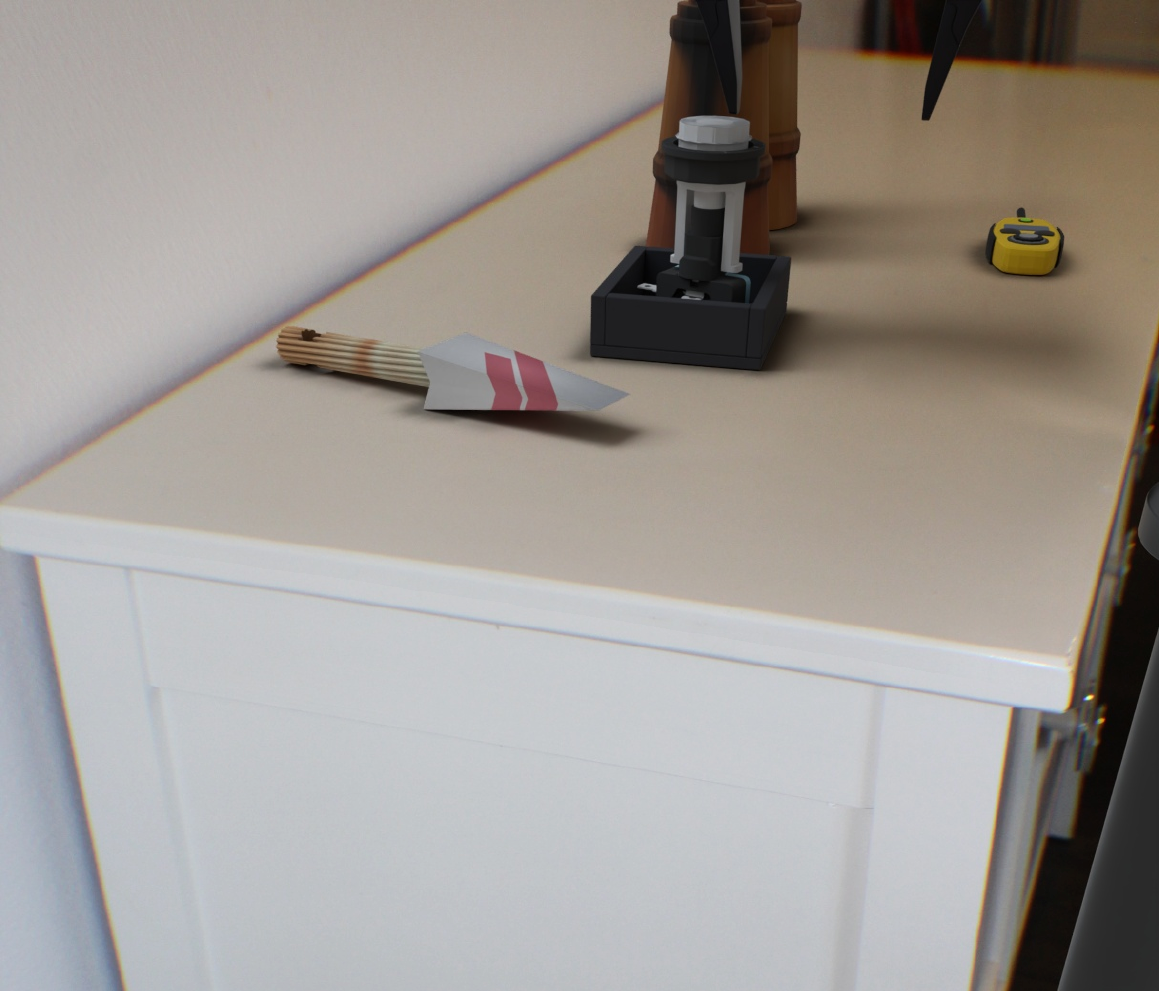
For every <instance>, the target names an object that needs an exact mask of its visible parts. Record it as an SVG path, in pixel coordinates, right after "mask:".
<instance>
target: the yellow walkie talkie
mask: <svg viewBox="0 0 1159 991" xmlns="http://www.w3.org/2000/svg"><path fill="white" fill-rule="evenodd" d="M1026 216H1027V215H1026V210H1025V208H1024V207H1018V208H1017V210H1016V217H1013V216H1012V217H1004V218H1002V219H1000V220H999V221H998V222H994V223H992V225H991V226H990V227H989V230H988V235H987V238H986V244H985V253H984V254H985V258H986V260H987V262H988V263H989V264H990V265H993V266H995V267H996V268H997V269H998V270H999V271H1001V272H1003V273H1007V274H1013V275H1027V276H1028V275H1029V276H1043V275H1047V274H1050V272H1052V270H1054V269H1056V268H1058V267H1059V265H1060V263H1061V260H1062V255H1063V252H1064V245H1065V234H1064V233H1063V231H1062V229H1061V228H1060V227H1059V226H1056V227H1055V226H1054V225H1053V224H1051V223H1050V221H1049V222H1048V221H1047V220H1046V219H1042V218H1033V217H1026Z"/></svg>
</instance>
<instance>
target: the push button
mask: <svg viewBox="0 0 1159 991" xmlns="http://www.w3.org/2000/svg"><path fill="white" fill-rule="evenodd" d="M749 128H750V122H749V121H747V120H745V119H740V118H735V117H725V116H695V117H687V118H683V119H681V120H680V125H679V133H677V134H676V135H675V136H674V137H670V138H666V139H664V140H663V141H662V142H661V151H662V152H664V153H665V168H664V172H665V174H666V175H668V176H669V177H671V178H672V179H674V180H677V209H676V230H675V250H674V254H672V255H671V260H670V262H672V263H677V264H679V265H677V266H675V267H673V268H670V269H668V270H665V271H663V272H660V273H659V274H658V275H657V283H656V285H651V284H646V283H643V284H641V285H638V286H637V287H638V288H641V289H647V290H652V291H653V292H656V296H657V297H670V298H683V299H696V300H709V301H722V302H735V303H748V304H749V298H750V285H751V282H750V279H749V277H747V276H744V275H738V272H740V271H742V265H743V264H742V263H739V254H740V240H741V227H742V213H743V199H744V190H745V182H747V181H752V180H755V179H756V178H757V177H758V176H759V169H760V156H762V155H764V154H765V147H766V145H765V143H764V142H762V141H759V140H756V139H752V136H751V135H749Z"/></svg>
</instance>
